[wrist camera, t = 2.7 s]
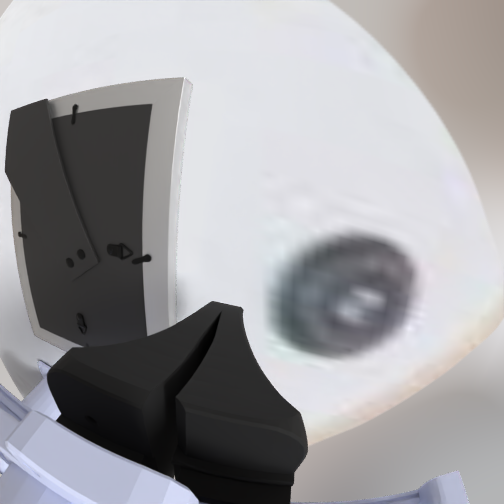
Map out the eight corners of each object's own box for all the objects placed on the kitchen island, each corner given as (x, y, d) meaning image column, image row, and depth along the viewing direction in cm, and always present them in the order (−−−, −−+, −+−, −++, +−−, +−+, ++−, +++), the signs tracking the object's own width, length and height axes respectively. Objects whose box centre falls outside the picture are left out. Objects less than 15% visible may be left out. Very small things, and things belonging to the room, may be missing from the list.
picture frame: (33, 112, 15) (46, 325, 21) (11, 110, 12) (30, 339, 18) (196, 87, 14) (181, 373, 20) (180, 72, 11) (170, 396, 17)
